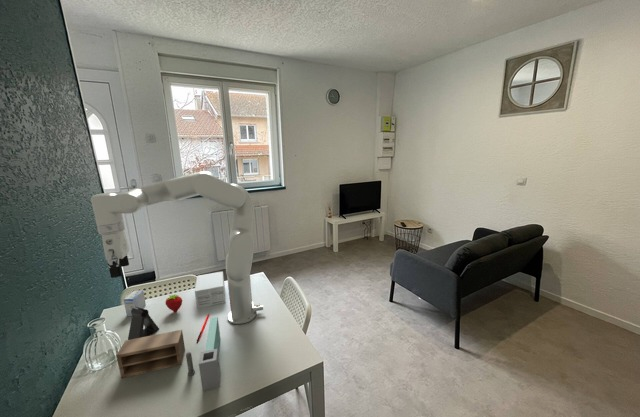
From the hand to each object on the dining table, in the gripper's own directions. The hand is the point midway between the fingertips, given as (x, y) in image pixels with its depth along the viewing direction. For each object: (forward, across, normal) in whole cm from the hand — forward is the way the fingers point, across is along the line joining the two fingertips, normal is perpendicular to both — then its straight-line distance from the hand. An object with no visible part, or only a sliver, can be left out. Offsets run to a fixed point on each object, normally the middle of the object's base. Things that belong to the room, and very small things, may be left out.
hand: (120, 271), depth 97 cm
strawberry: (+30, +14, -13) cm, 36 cm away
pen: (+31, -4, -25) cm, 40 cm away
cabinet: (+30, -21, -11) cm, 38 cm away
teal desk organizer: (+30, -25, -28) cm, 49 cm away
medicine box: (+30, +23, +4) cm, 38 cm away
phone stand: (+30, +2, -3) cm, 30 cm away
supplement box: (+31, +21, -29) cm, 47 cm away
